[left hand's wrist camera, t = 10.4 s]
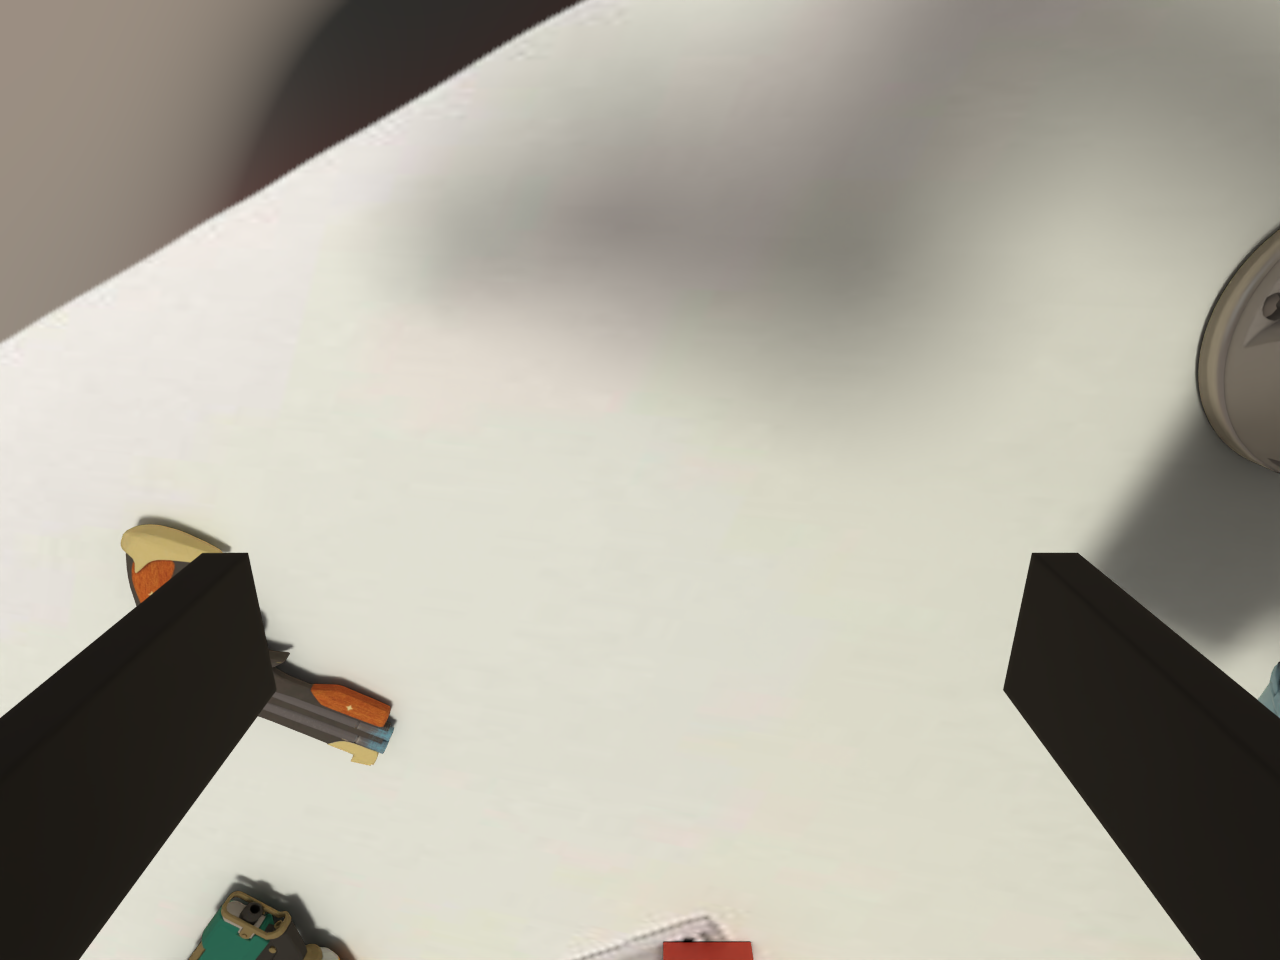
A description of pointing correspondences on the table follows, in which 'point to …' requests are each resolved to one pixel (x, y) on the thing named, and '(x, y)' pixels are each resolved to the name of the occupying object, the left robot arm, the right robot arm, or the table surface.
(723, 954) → the block
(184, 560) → the toy gun
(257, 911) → the spray gun
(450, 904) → the table surface
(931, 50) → the table surface
